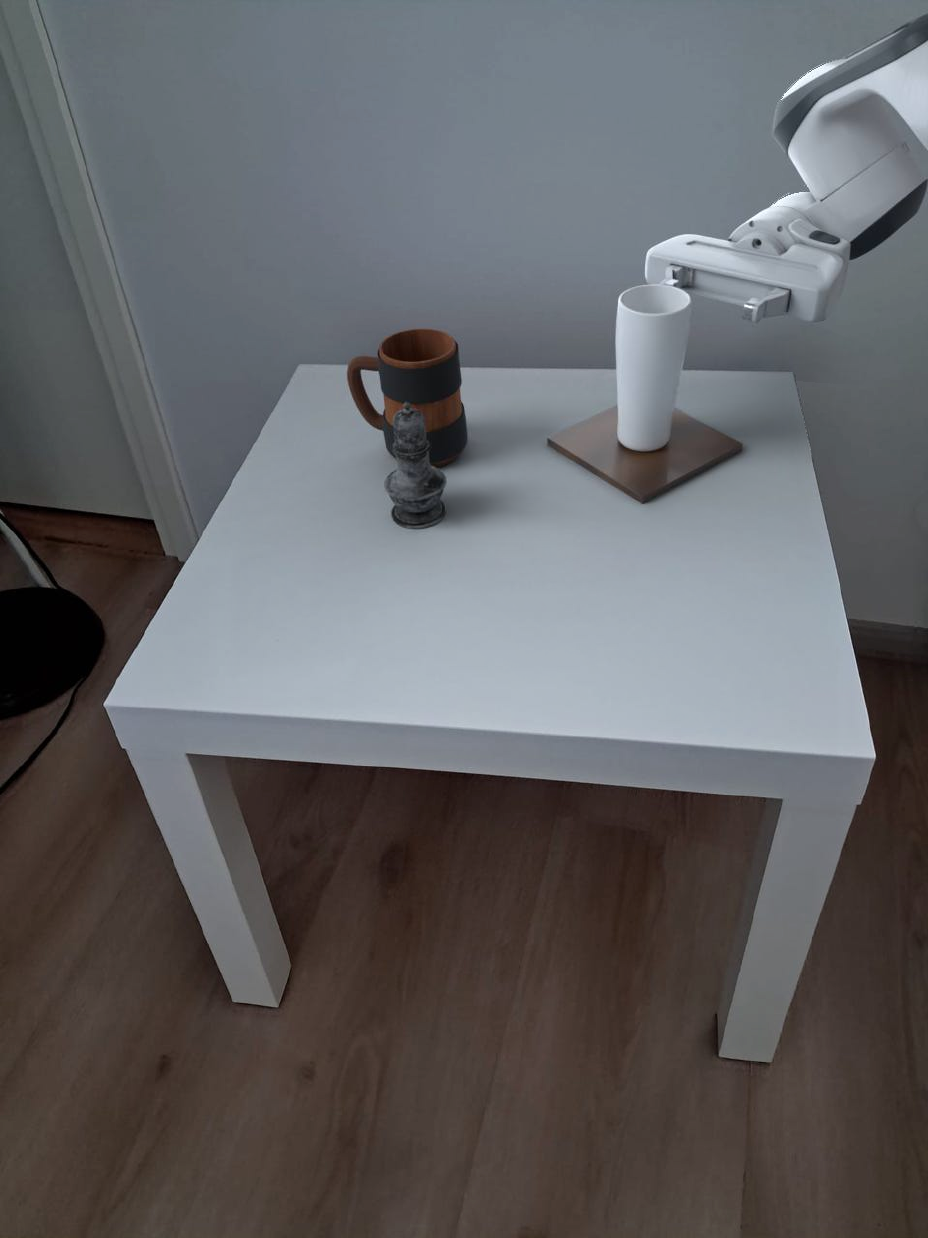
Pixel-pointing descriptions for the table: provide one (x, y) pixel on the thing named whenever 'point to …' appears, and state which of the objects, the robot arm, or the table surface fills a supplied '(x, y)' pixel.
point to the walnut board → (644, 453)
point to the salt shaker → (414, 474)
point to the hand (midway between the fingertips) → (705, 303)
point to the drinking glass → (649, 362)
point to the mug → (416, 389)
